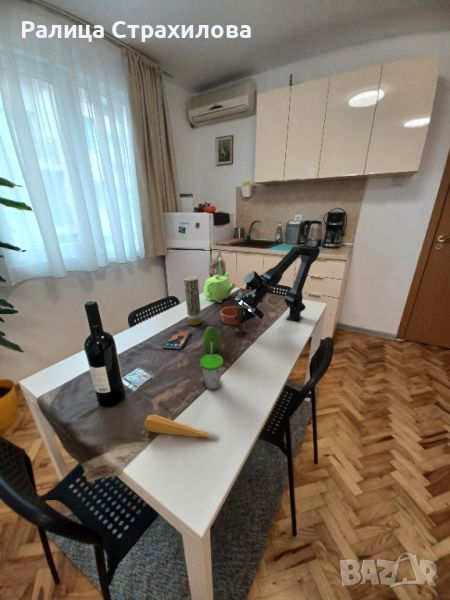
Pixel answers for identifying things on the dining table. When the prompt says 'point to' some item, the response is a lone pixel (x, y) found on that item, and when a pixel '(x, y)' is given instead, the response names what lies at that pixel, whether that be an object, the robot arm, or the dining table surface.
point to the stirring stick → (240, 326)
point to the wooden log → (192, 300)
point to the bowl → (229, 315)
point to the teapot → (218, 288)
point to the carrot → (170, 427)
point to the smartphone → (177, 339)
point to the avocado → (211, 339)
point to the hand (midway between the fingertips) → (237, 320)
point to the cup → (211, 369)
